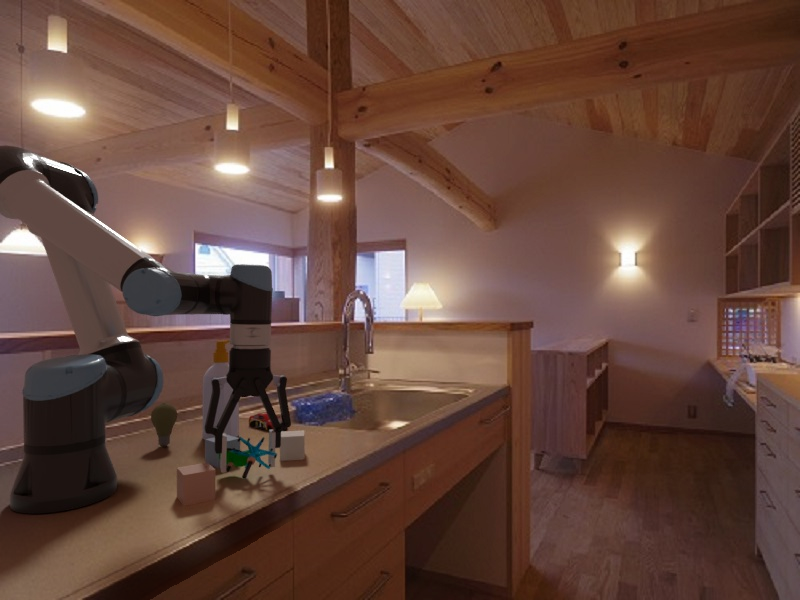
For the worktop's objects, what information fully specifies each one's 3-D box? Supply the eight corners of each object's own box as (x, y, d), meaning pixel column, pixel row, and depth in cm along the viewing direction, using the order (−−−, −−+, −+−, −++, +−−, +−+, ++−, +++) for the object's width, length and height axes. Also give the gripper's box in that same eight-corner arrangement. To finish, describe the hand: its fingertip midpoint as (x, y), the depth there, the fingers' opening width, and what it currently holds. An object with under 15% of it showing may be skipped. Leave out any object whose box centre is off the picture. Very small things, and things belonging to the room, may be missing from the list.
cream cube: (279, 461, 107) (279, 437, 107) (281, 454, 112) (281, 431, 112) (304, 459, 108) (304, 435, 108) (304, 453, 113) (304, 430, 113)
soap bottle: (247, 433, 131) (247, 339, 132) (225, 442, 122) (225, 341, 123) (218, 431, 134) (218, 339, 134) (194, 440, 125) (194, 341, 125)
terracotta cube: (183, 506, 83) (183, 475, 83) (176, 497, 87) (176, 467, 87) (215, 499, 86) (215, 469, 86) (207, 491, 90) (207, 462, 90)
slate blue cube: (217, 468, 103) (217, 443, 103) (204, 463, 106) (204, 439, 106) (240, 462, 106) (240, 438, 106) (227, 458, 110) (227, 434, 110)
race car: (291, 430, 135) (291, 415, 135) (274, 434, 131) (273, 418, 131) (263, 423, 144) (263, 408, 144) (245, 426, 140) (245, 411, 140)
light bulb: (177, 448, 117) (177, 404, 118) (149, 451, 115) (149, 406, 115) (177, 442, 123) (177, 400, 123) (151, 445, 120) (151, 402, 121)
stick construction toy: (285, 456, 98) (264, 428, 94) (274, 487, 92) (251, 459, 89) (233, 466, 102) (211, 440, 98) (219, 497, 96) (195, 470, 92)
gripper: (191, 349, 90) (188, 480, 89) (310, 347, 98) (307, 467, 98) (189, 345, 96) (186, 468, 96) (300, 344, 105) (298, 456, 105)
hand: (247, 467), depth 97 cm, fingers closed on stick construction toy, 8 cm apart
